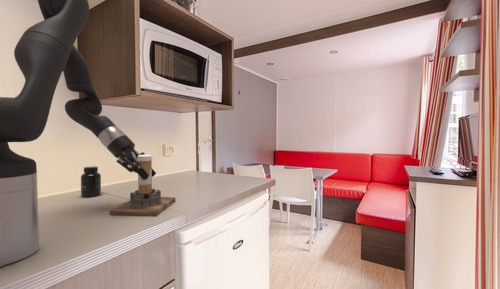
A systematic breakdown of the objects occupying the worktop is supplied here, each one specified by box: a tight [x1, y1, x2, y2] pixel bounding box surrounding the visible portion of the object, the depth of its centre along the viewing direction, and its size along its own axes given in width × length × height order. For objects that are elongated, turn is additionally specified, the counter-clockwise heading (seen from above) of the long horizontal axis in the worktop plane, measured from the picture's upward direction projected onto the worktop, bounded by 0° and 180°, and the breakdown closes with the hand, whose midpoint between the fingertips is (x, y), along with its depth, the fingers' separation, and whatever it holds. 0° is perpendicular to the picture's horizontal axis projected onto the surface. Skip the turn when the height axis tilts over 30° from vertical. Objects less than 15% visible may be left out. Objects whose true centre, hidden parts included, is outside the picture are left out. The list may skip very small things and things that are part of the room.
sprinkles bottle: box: [137, 154, 153, 194], centre depth 77 cm, size 5×5×14 cm
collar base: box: [109, 188, 176, 217], centre depth 78 cm, size 16×15×6 cm
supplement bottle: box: [80, 165, 102, 198], centre depth 92 cm, size 7×7×12 cm
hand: (150, 176), depth 77 cm, fingers closed on sprinkles bottle, 4 cm apart
